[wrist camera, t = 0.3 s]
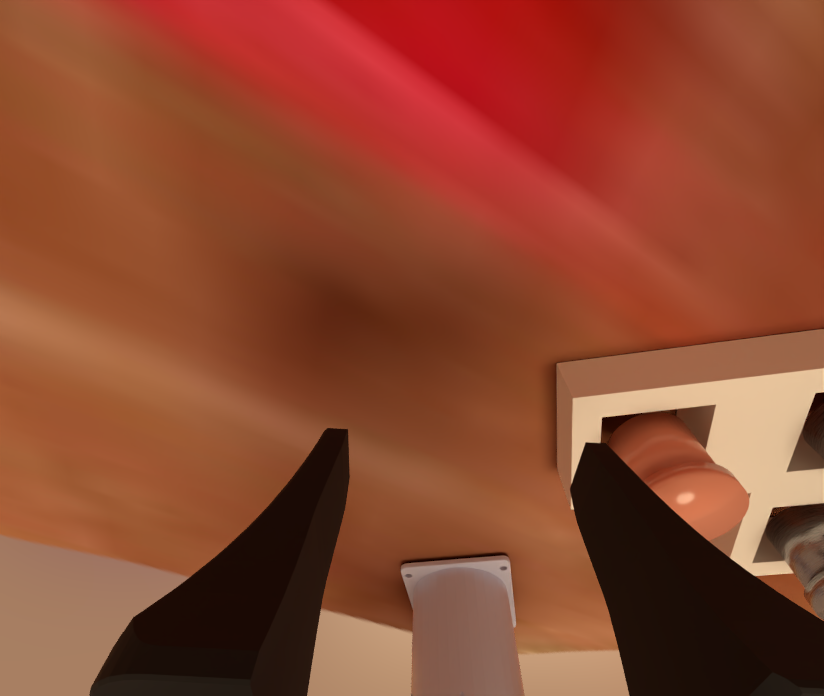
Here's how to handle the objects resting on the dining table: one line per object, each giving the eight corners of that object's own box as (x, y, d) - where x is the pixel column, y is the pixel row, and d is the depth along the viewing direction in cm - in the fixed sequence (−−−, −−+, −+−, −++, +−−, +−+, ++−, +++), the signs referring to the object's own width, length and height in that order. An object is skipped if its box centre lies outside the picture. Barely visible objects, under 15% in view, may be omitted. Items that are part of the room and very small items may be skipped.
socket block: (824, 525, 29) (862, 568, 27) (557, 547, 31) (569, 589, 29) (925, 315, 21) (993, 347, 19) (556, 363, 23) (572, 398, 21)
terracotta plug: (687, 468, 24) (737, 542, 20) (599, 477, 24) (631, 550, 20) (701, 402, 21) (760, 471, 18) (603, 413, 22) (640, 482, 18)
